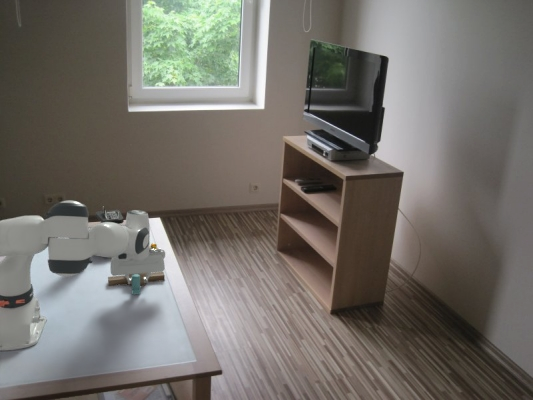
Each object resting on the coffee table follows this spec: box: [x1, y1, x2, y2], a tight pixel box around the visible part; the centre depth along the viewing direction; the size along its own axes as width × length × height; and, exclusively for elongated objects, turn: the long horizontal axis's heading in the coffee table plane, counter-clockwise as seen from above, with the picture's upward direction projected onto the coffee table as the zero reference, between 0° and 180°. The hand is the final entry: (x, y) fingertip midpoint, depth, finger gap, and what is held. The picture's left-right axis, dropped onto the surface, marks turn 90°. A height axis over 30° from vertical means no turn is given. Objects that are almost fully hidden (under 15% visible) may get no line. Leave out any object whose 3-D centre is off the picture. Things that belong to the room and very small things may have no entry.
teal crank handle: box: [131, 274, 141, 295], centre depth 224 cm, size 6×3×7 cm, turn 11°
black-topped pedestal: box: [95, 206, 125, 225], centre depth 270 cm, size 28×26×13 cm
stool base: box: [107, 271, 165, 288], centre depth 234 cm, size 16×22×6 cm
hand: (137, 282), depth 223 cm, fingers open, 5 cm apart
